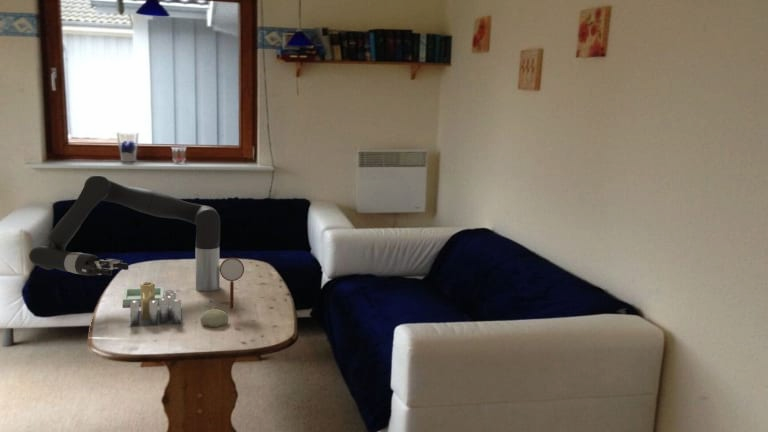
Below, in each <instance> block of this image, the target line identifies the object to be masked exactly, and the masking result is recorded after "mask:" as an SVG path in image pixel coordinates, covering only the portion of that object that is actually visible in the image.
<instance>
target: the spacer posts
mask: <svg viewBox="0 0 768 432" xmlns="http://www.w3.org/2000/svg"><path fill="white" fill-rule="evenodd" d="M174 291H175V290H172V289H167V290H165V297H163V298H162V299H159V304H158V301H157V300H151V301H149V315H150V325H158V310H159V323H167V322H168V320H173V324H180V325H182V324H181V309H182V300H181V299H177V293H176V292H174ZM129 310H130V312H129V313H130V324H131V325H132V326H137V325H139V311H140V305H139V301H137V300H133V301H130V306H129Z"/></svg>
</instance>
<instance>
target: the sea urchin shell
mask: <svg viewBox="0 0 768 432" xmlns="http://www.w3.org/2000/svg"><path fill="white" fill-rule="evenodd" d="M228 322H229V316H228V314H227V313H226V312H225V311H223V310H221V309H218V308H217V309H216V308H213V309H208V310H205V311H204V312H203V313H202V315H201V317H200V323H201V325H202V326H204V327H209V328H210V327H211V328H218V327H222V326H225V325H226V324H227V323H228Z"/></svg>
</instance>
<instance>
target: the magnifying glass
mask: <svg viewBox="0 0 768 432" xmlns="http://www.w3.org/2000/svg"><path fill="white" fill-rule="evenodd" d="M219 266H220V276H221V277H222V278H223V279H225V281H229V282H230V283H229V285H230V286H229V287H230V288H229V289H230V291H229V292H230V294H229V297H230V298H229V299H230V300H229V309H230V311H231V312H233V311H234V302H235V301H234V294H235V293H234V288H235V287H234V284H235V283H234V281H237V280H239V279H241V278H242V277H243V274H244V272H245V266H244V263H243V262H242V261H241V260H240V259H238V258H237V257H229V258H226V259H224V260H223V261H222V262H221V264H220V265H219Z"/></svg>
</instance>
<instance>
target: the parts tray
mask: <svg viewBox="0 0 768 432" xmlns="http://www.w3.org/2000/svg"><path fill="white" fill-rule="evenodd" d="M162 298H164V286H162V287H161V286H159V287H157V286H155V300H157V301H158V305H159V299H162ZM133 300H137V301H139V306H141V287H138V288H137V287H136V288H133V287H132V288H125V289H124V292H123V295H122V306H123V307H130V301H133Z"/></svg>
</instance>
